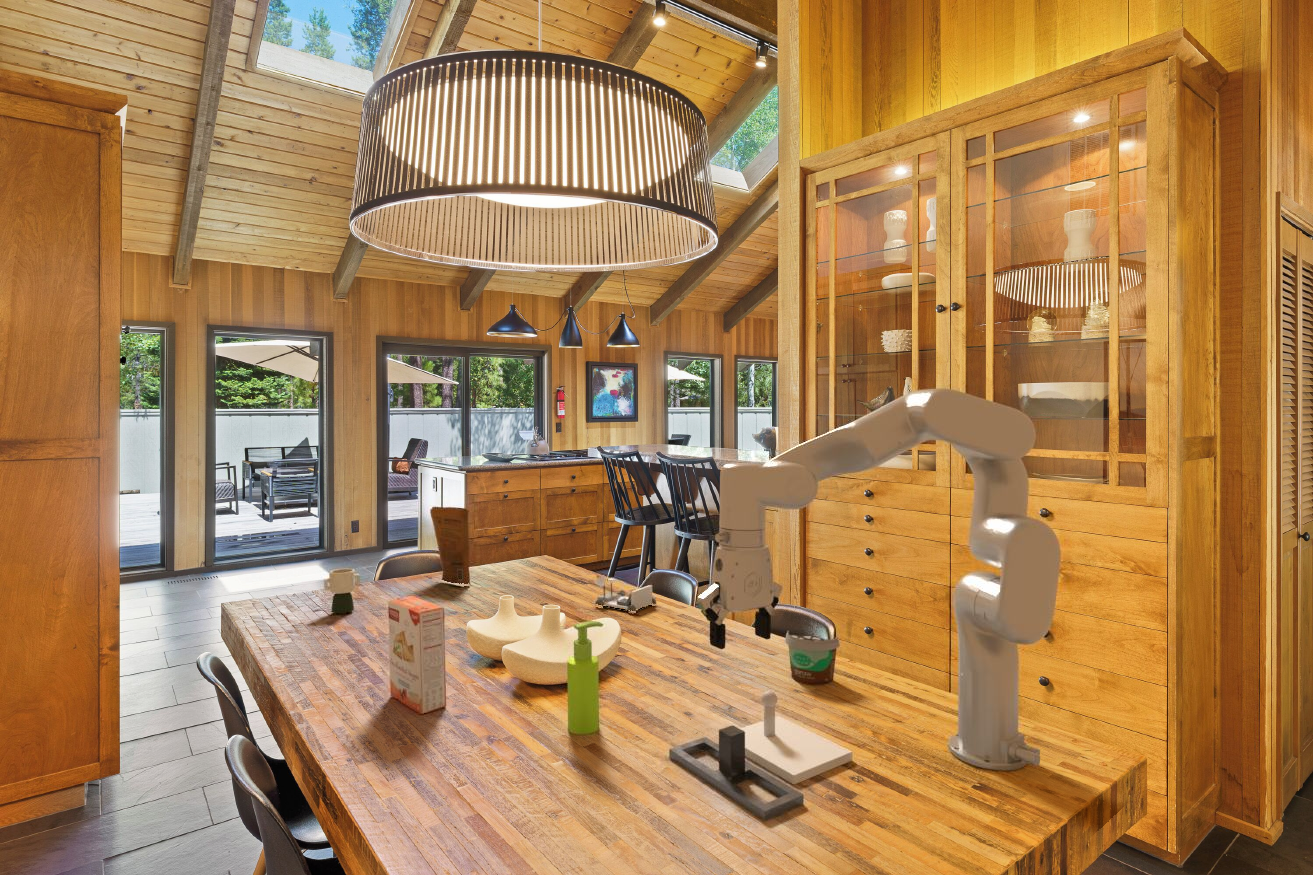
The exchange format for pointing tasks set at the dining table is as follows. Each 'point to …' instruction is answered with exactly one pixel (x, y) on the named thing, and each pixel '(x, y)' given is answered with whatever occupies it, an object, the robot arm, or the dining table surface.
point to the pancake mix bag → (452, 542)
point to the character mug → (342, 589)
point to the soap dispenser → (583, 684)
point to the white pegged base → (790, 746)
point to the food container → (812, 658)
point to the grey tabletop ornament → (632, 602)
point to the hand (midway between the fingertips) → (740, 641)
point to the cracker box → (417, 653)
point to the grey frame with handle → (736, 773)
